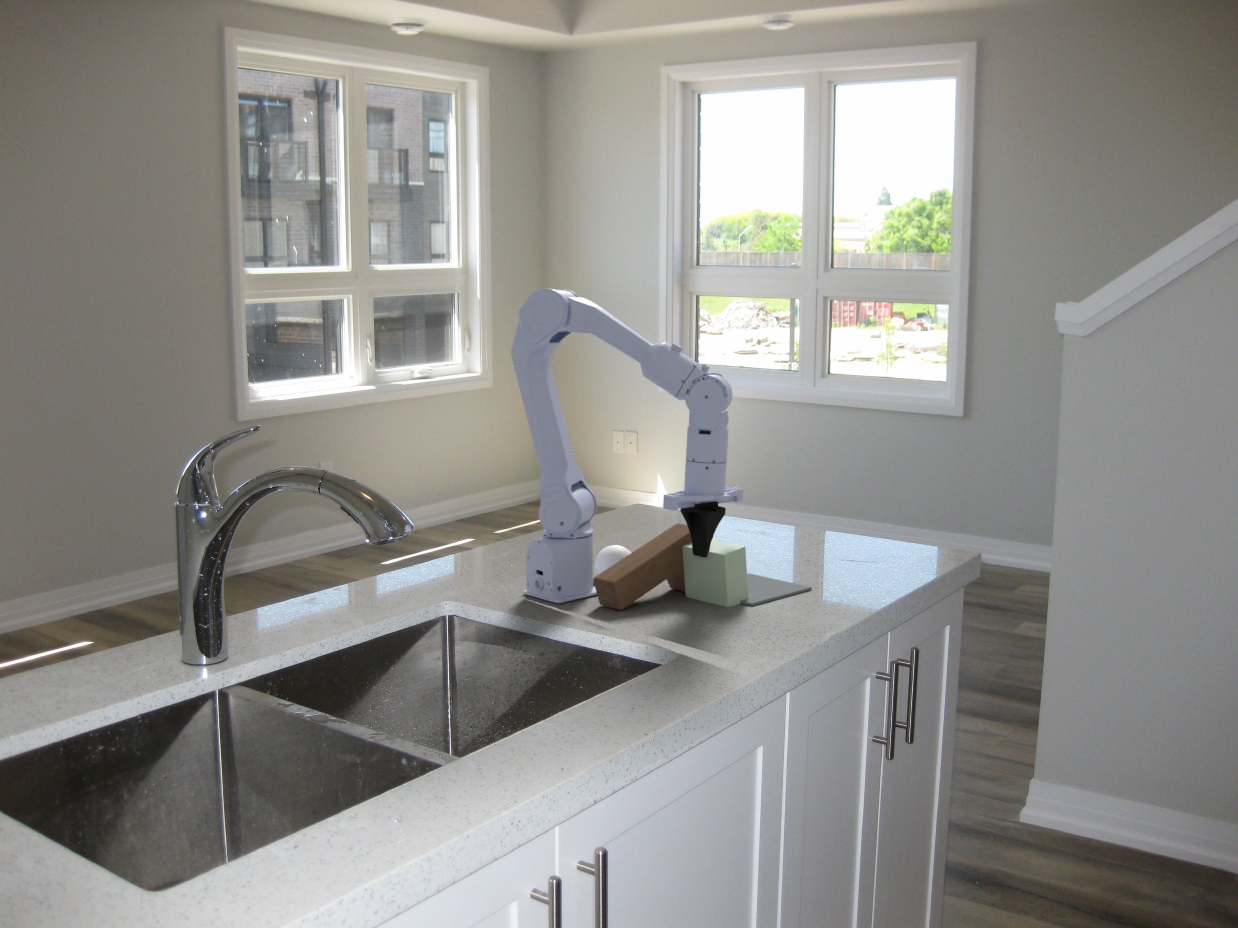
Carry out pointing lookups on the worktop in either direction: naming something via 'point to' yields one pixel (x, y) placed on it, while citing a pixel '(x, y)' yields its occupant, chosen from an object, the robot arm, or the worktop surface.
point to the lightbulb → (610, 557)
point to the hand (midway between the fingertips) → (701, 555)
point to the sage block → (716, 574)
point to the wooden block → (645, 569)
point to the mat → (769, 589)
